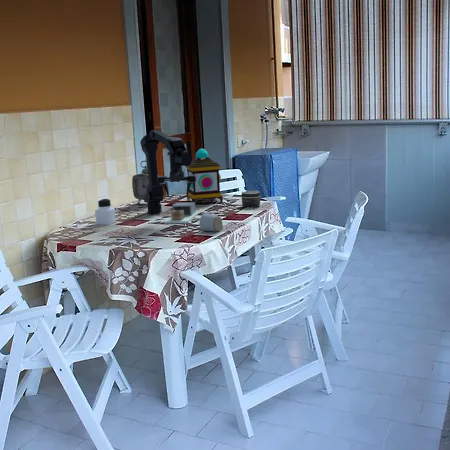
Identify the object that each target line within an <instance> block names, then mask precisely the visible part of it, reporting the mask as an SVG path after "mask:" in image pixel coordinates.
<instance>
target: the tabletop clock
mask: <svg viewBox="0 0 450 450" xmlns="http://www.w3.org/2000/svg"><path fill="white" fill-rule="evenodd" d="M142 163H147V162H146V160H142V161H141V162H140V164H139V165H140V167H141V168H142V170H141V173H138V174H134V175H132V179H131V181H132V182H131V186H132V187H131V188H132V192H133V193H132V194H133V196H134V198H135V199H137V200H138V201H136V205H140V202H141V201H142V200H143V201H144V197H145V195H146V188H147V186H148V184H149V179H148V171H147V165H144V166H143V165H142ZM159 176H160V175H159V174H158V177H159ZM159 184H160V183H159Z"/></svg>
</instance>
